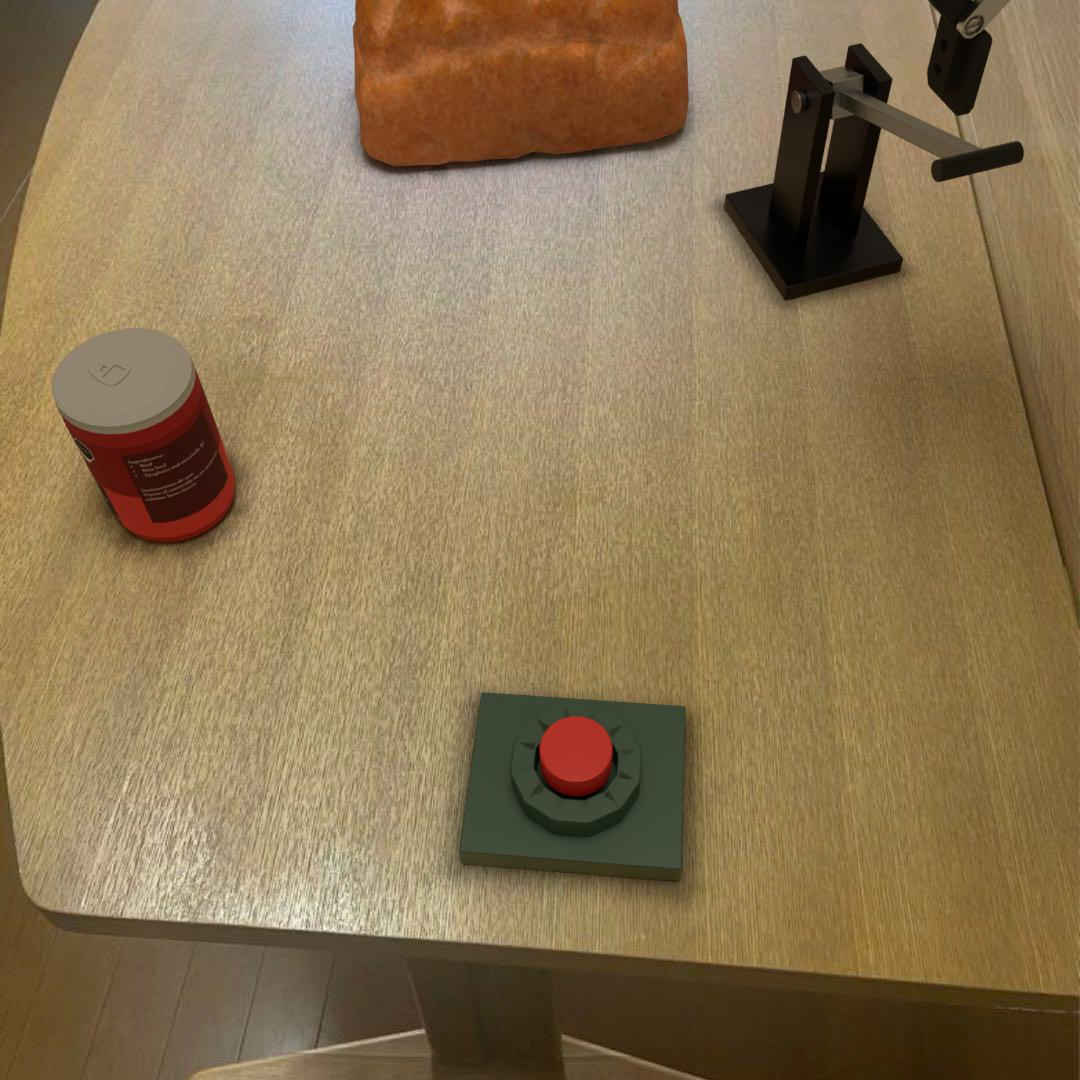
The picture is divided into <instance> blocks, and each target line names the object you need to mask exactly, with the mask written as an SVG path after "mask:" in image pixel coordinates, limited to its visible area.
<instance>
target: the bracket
mask: <svg viewBox="0 0 1080 1080" xmlns="http://www.w3.org/2000/svg"><path fill="white" fill-rule="evenodd" d="M844 62H845V63H844V66H843V67H845V68H848V69H850V70H852V71H854V72H856V73H859V74H861V75H863V76H864V77H863V93H865V94H867V95H870V96H872V97H874V98H876V99H878V100H880V101H882V102H884V103H887V104H888V101H889V97H890V93H891V89H892V85H893V79H894V78H893V76H892V75H890V74H889V73H888V71H887V69H885V68H884V66H882V65H881V63H880V62H879V61H878V60H877V58H875V57H874V55H873V54H872V53H871V51H869V50H868V49H867V48H866V47H865V45H864V44H863V43H861V42H860V43H856V44H851V45H848V47H847V51H846V55H845V61H844ZM787 85H788V86H787V92H786V99H785V105H784V111H783V118H782V122H781V123H782V124H781V129H780V130H781V131H780V138H779V143H778V150H777V156H776V162H775V163H776V164H775V169H774V176H773V182H772V183H768V184H763V185H760V186H755V187H750V188H746V189H743V190H738V191H733V192H730V193H726V194H725V196H724V203H723V204H724V205H723V207H724V209H725V211H726V212H727V214H728V215H729V216H730V218H731V220H732V221H733V223H734V224H735V226H736V227H737V229H738V230H739V232H740V234H741V235H742V236H743V238H744V239H745V241H746V243H747V245H748V246H749V247H750V249H751V250H752V251H753V253H754V255H755V256H756V257H757V260H758V261H759V263H760V264H761V266H762V267H763V268H764V270H765V271H766V273H767V274H768V276H769V278H770V279H771V280H772V282H773V283H774V285H775V287H776V288H777V290H778V292H779V293H780V294H781V296H782V297H783V299H784V300H785V301H787V300H792V299H796V298H799V297H803V296H807V295H811V294H815V293H819V292H824V291H827V290H831V289H835V288H839V287H843V286H848V285H850V284H856V283H859V282H862V281H866V280H870V279H875V278H878V277H883V276H887V275H891V274H894V273H898V272H900V271H901V269H902V266H903V263H904V257H903V256H902V255H901V253H900V252H899V251H898V249H897V248H896V247H895V246H894V244H893V243H892V241H890V239H889V238H888V236H886V234H885V233H884V231H883V230H882V229H881V228H880V226H879V225H878V224H877V222H876V221H875V220H874V219H873V217H872V215H871V214H870V213H869V211H867V209H866V208H865V201H866V197H867V193H868V188H869V184H870V180H871V175H872V171H873V166H874V162H875V158H876V153H877V150H878V145H879V141H880V136H881V132H882V128H880V127H878V126H876V125H874V124H872V123H870V122H868V121H866V120H865V119H863V118H861V117H859V116H857V115H852V116H847V117H843V118H838V119H834V120H833V124H832V129H831V134H830V139H829V144H828V150H827V154H826V155H827V156H826V160H825V165H824V170H823V171H822V166H823V161H824V155H825V149H826V144H827V140H828V133H829V128H830V123H831V113H832V108H833V103H834V98H835V90H834V89H833V88H832V87H831V85H830V84H829V83H828V82H827V80H826V79H825V78H824V77H823V76H822V74H821V73H820V72H819V69H818V68H817V67H816V66H815V64H813V62H812V61H811V59H810V58H809V57H808V56H807V55H800V56H796V57H795V56H794V57H793V58H792V59H791V66H790V72H789V78H788V84H787Z"/></svg>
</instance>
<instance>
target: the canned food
mask: <svg viewBox="0 0 1080 1080" xmlns="http://www.w3.org/2000/svg"><path fill="white" fill-rule="evenodd" d="M51 393H52V397H53V400H54V403H55V406H56V409H57V410H58V413H59V414H60V416H61V418H62V421H63V423H64V425H65V427H66V429H67V431H68V433H69V435H70V437H71V438H72V441H73V442H74V444H75V446H76V447H77V449H78V451H79V453H80V455H81V457H82V459H83V461H84V463H85V464H86V466H87V468H88V470H89V472H90V474H91V476H92V477H93V480H94V481H95V483H96V485H97V487H98V490H99V491H100V493H101V494H102V496H103V498H104V500H105V502H106V504H107V505H108V507H109V508H108V509H110V512H111V513H112V515H113V516H114V518H115V519H116V521H117V522H118V523H120V525H122V526H123V527H124V528H125V529H126V530H128V531H129V532H130V533H132V534H134V535H135V536H137V537H139V538H140V539H144V540H147V541H151V542H157V543H176V542H181V541H187V540H189V539H192V538H196V537H198V536H200V535H202V534H204V533H206V532H208V531H209V530H210V529H212V528H214V527H215V526H216V525H217V524H219V522H220V521H221V520H223V519H224V518H225V516H226V514H227V513H228V512H229V510H230V509H231V505H232V503H233V501H234V496H235V488H236V486H235V485H236V479H235V472H234V469H233V467H232V464H231V461H230V459H229V455H228V453H227V450H226V447H225V444H224V442H223V439H222V436H221V434H220V431H219V428H218V425H217V423H216V420H215V417H214V415H213V412H212V409H211V406H210V404H209V401H208V397H207V395H206V392H205V390H204V388H203V384H202V381H201V379H200V376H199V373H198V371H197V369H196V366H195V363H194V361H193V359H192V357H191V356H190V354H189V352H188V350H187V349H186V347H185V346H184V345H183V344H182V343H181V342H180V341H178V340H177V338H175V337H173V336H171V335H169V334H167V333H165V332H163V331H159V330H155V329H151V328H141V327H133V328H132V327H130V328H129V327H128V328H120V329H114V330H109V331H107V332H106V331H105V332H102V333H100V334H97V335H95V336H92V337H90V338H88V339H86V340H84V341H83V342H81V343H79V344H78V345H76V346H75V347H74V348H73V349H72V350H70V351H69V352H68V353H67V354H66V355H65V356H64V357H63V358H62V360H61V361H60V362H59V363H58V365H57V367H56V369H55V371H54V373H53V377H52V380H51Z"/></svg>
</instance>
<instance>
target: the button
mask: <svg viewBox="0 0 1080 1080" xmlns="http://www.w3.org/2000/svg"><path fill="white" fill-rule="evenodd" d="M612 753H613V747H612V742H611V739H610V736H609V734H608V733H607V731H606V730H605V729H604V728H603V727H602V726H601V725H600V724H599V723H597V722H596V721H594V720H592V719H589V718H586V717H580V716H572V717H566V718H563V719H560V720H558V721H556V722H555V723H553V724H552V725H551V726H550V727H549V728H548V729H547V730H546V731H545V733H544V734H543V736H542V739H541V742H540V765H541V771H542V774H543V777H544V779H545V780H546V782H547V783H548V784H549V785H550V786H551V787H552V788H553V789H554V790H556V791H558V792H559V793H562V794H564V795H568V796H585V795H588V794H591V793H593V792H595V791H597V790H598V789H600V788H601V787H602V786H603V785H604V784H605V782H606V781H607V780H608V778H609V776H610V773H611V769H612Z"/></svg>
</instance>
